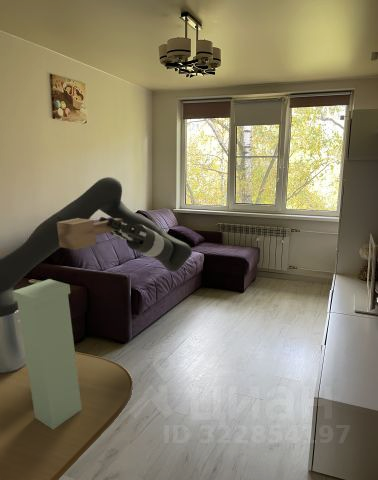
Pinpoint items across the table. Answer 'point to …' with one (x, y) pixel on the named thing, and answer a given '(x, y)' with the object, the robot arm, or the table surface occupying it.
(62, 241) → the mallet
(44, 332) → the stand
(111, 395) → the table surface
